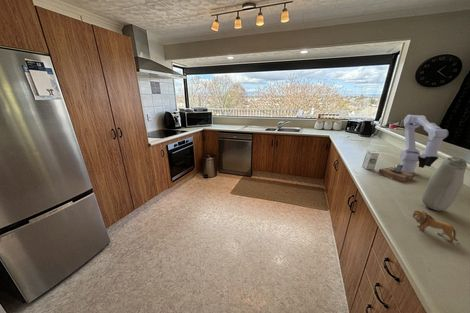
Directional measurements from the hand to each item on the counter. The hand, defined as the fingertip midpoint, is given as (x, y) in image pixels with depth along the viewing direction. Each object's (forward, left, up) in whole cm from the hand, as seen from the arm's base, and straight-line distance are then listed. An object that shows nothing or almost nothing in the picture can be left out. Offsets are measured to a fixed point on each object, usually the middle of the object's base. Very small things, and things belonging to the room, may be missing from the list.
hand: (424, 166), depth 115 cm
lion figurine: (+59, +32, -11) cm, 68 cm away
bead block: (+9, -9, -10) cm, 16 cm away
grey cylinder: (+9, -9, -10) cm, 16 cm away
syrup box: (+14, -25, -11) cm, 31 cm away
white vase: (+34, +22, -11) cm, 41 cm away
